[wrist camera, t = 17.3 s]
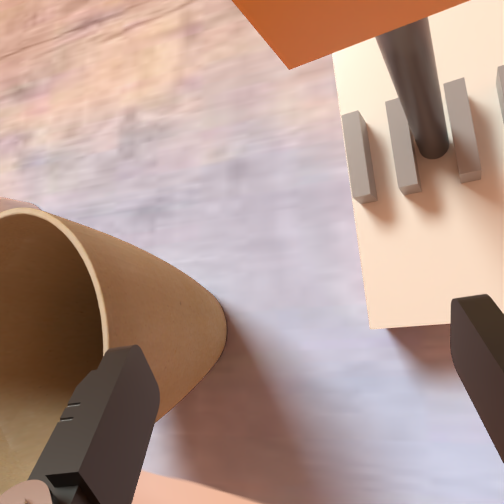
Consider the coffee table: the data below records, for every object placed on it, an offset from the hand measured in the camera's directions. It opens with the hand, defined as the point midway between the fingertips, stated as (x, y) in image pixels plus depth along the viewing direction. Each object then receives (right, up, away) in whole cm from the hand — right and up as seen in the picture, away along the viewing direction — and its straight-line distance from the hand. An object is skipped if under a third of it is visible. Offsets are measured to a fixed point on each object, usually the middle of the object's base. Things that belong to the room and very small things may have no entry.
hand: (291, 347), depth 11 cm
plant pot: (-6, -4, +25) cm, 26 cm away
